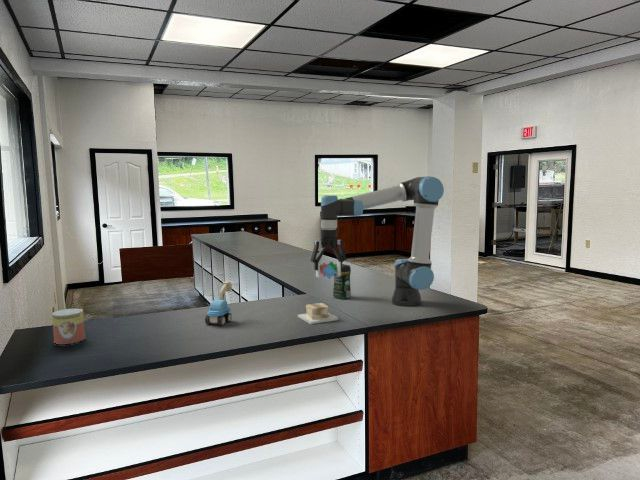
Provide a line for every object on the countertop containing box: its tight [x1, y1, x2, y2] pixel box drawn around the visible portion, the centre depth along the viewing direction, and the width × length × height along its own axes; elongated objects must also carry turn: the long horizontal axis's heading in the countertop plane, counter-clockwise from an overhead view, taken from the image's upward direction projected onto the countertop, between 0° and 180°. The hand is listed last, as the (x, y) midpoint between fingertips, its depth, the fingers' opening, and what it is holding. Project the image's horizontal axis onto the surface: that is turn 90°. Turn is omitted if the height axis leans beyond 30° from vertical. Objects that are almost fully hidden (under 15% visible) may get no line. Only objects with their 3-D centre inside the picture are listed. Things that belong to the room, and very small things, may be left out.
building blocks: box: [320, 260, 337, 279], centre depth 223 cm, size 8×8×12 cm
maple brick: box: [305, 302, 330, 319], centre depth 221 cm, size 8×8×5 cm
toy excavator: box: [204, 281, 233, 326], centre depth 218 cm, size 9×17×17 cm, turn 161°
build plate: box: [297, 312, 339, 325], centre depth 221 cm, size 14×14×1 cm
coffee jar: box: [332, 263, 352, 300], centre depth 260 cm, size 10×8×19 cm
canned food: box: [51, 307, 86, 345], centre depth 193 cm, size 11×11×12 cm
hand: (328, 276), depth 223 cm, fingers closed on building blocks, 10 cm apart
